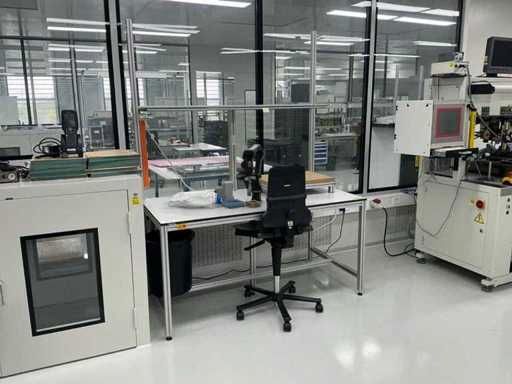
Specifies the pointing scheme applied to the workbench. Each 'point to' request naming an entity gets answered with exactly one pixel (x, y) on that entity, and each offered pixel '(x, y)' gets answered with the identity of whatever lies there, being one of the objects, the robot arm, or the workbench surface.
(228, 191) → the circuit breaker
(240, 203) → the tray
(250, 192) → the pin
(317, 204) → the workbench surface
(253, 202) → the hole block
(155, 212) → the workbench surface
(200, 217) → the workbench surface
